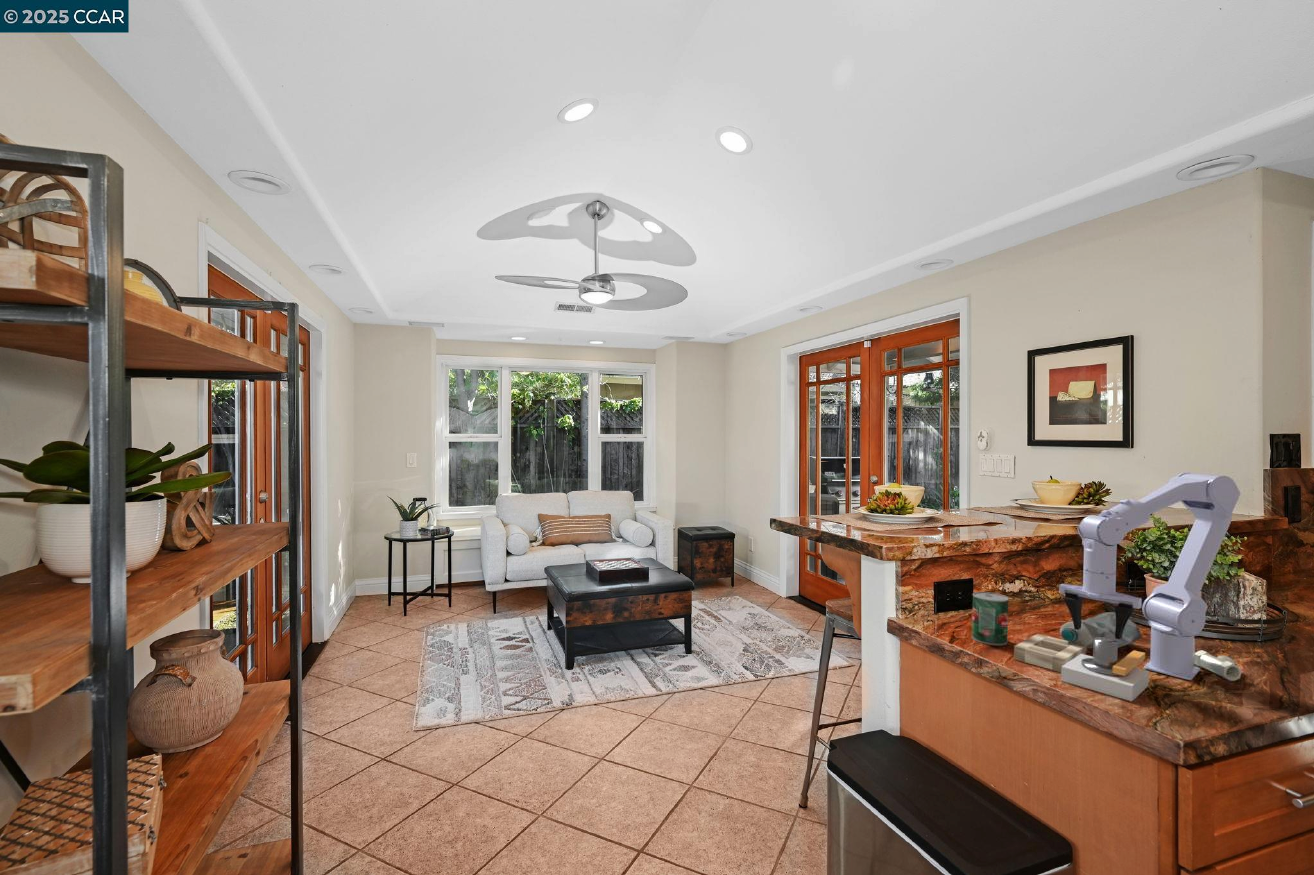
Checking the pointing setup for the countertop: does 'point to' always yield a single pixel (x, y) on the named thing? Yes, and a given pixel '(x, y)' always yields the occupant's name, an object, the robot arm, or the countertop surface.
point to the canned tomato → (990, 618)
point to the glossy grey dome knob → (1103, 657)
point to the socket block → (1105, 679)
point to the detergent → (1100, 631)
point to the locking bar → (1128, 663)
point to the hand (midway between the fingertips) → (1097, 633)
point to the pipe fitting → (1218, 665)
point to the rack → (1047, 651)
